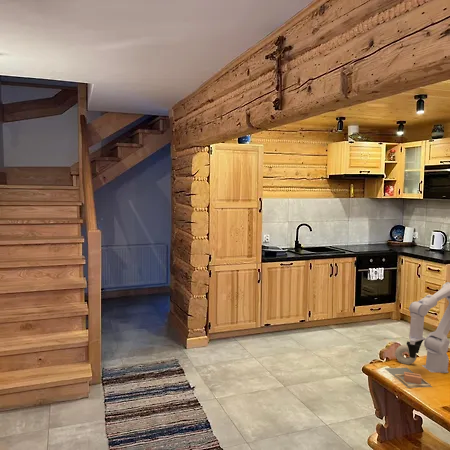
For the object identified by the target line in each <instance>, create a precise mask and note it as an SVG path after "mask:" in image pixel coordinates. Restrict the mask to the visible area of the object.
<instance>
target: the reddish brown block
mask: <svg viewBox="0 0 450 450" xmlns="http://www.w3.org/2000/svg"><path fill="white" fill-rule="evenodd" d="M422 378H423V377H422V374H420V373H415V372H413V373H409V372H404V381H405V382H410V383H416V384H421V380H422Z"/></svg>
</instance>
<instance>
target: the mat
mask: <svg viewBox="0 0 450 450" xmlns="http://www.w3.org/2000/svg"><path fill="white" fill-rule="evenodd" d="M384 370H386V371H387V372H388V373H389V374H390V375H392V377H394V378H395V379H397V380H398V381H399V382H400V383H401V384H402V385H404V386H405V387H406V388H407V389H409V388H410V389H413V388H415V389H416V388H419V389H420V387H407V386H406V385H405V384H404V383H403V382H401V381H400V380H399V379H398V378H396V377H395V374H404V372H409V373H414V372H413V370H411V369H410V368H408V367H391V368H386V367H385V368H384ZM400 378H401V379H403V380H404V376H403V377H400ZM406 383H407V384H409V385H414V384H416V383H410V382H406ZM421 384H425V383H424V382H423V381H421ZM428 388H433V386H432V385H431V386H429V387H428Z"/></svg>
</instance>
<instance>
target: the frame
mask: <svg viewBox="0 0 450 450" xmlns="http://www.w3.org/2000/svg"><path fill="white" fill-rule="evenodd" d="M403 376H404V374H395V377H396V378H395V377H394V378H395V379H397V378H398V379H399V380H400V381H401V382H403V383H404V384H405V385H406V386H407V387H419V388H430V387H429V386H432V385H431V384H430V383H429V382H428V381H426V380H425V379H424V378H423V377H422V380H421V381H423V382H424V383H425V384H414V385H409V384H407V383H406V382H405V381H404V380H403V379H401V378H400V377H403ZM398 379H397V380H398ZM399 380H398V381H399ZM400 381H399V382H400ZM401 382H400V383H401ZM403 383H402V384H403ZM404 384H403V385H404ZM405 385H404V386H405ZM406 386H405V387H406ZM407 387H406V388H407Z"/></svg>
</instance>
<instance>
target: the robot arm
mask: <svg viewBox="0 0 450 450" xmlns="http://www.w3.org/2000/svg"><path fill="white" fill-rule="evenodd" d="M445 298H446V300H447V302H448V305H447V307H446V309H445V311H444V313H443V314H442V316H441V319H440V321H439V323H438V324H437V325H438V326H437V328H436V329H435V330H434V331H431V332H429V333H428V335H427V337H423V336H424V335H423V334H424V326H425V325H424V324H425V316H427V315H428V313H429V311H430V310H431V309H432V308H434V307H436V306H437V305H438V302H439V301H441V300H443V299H445ZM408 310H409V316H410V322H409V323H410V326H409V334H408V338H409V341H408V340H407V341H406V345H407V346H408V349H409V353H408V354H409V355H410V357H411V358H415V356H416V355H417V354H419V352H420V350H421V346H422V345H424V348H425V350H426V359H425V360H426V361H425V364H424V365H421V366H422V367H423V368H424V369H426V370H427V371H429V372H430V373H441V374H444V373H445V374H446V373H449V370H448V369H449V356H448V354H447V353H448V350H449V347H450V339H448V334H449V332H450V282H449V281H447V282H445V283H444V284H442V287H441V288H440V289H439V290H438V291H436V292H435V293H434V294H427V295H426V296H424V297H423V298H421V299H419V300H417V301H412V302H411V303H410V305H409V307H408ZM422 343H423V344H422ZM409 355H408V356H409Z"/></svg>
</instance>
